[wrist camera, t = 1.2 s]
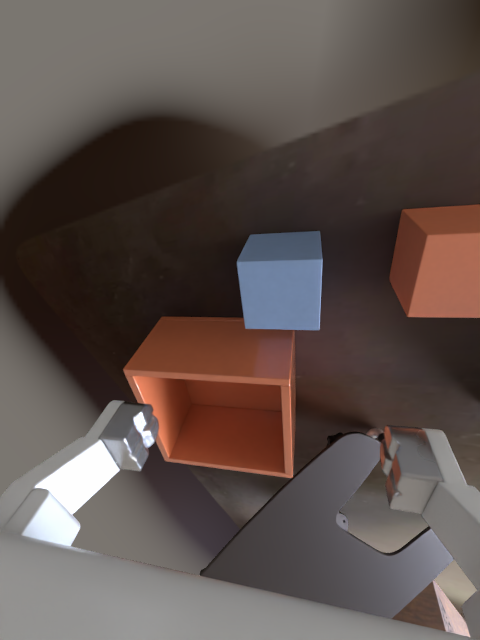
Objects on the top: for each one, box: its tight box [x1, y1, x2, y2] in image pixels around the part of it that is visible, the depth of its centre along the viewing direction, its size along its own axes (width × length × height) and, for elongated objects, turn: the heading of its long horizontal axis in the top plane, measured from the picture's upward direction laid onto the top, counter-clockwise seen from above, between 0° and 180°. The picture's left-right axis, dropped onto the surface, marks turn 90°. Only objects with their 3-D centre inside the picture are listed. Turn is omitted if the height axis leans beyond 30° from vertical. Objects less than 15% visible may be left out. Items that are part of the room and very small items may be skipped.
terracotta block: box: [389, 204, 480, 318], centre depth 16 cm, size 4×4×4 cm
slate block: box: [237, 231, 323, 330], centre depth 18 cm, size 4×4×4 cm
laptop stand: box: [200, 428, 454, 619], centre depth 33 cm, size 23×23×9 cm
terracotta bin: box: [123, 317, 296, 478], centre depth 24 cm, size 11×11×6 cm
